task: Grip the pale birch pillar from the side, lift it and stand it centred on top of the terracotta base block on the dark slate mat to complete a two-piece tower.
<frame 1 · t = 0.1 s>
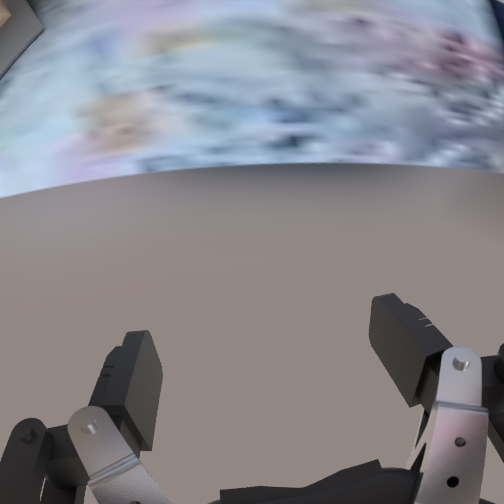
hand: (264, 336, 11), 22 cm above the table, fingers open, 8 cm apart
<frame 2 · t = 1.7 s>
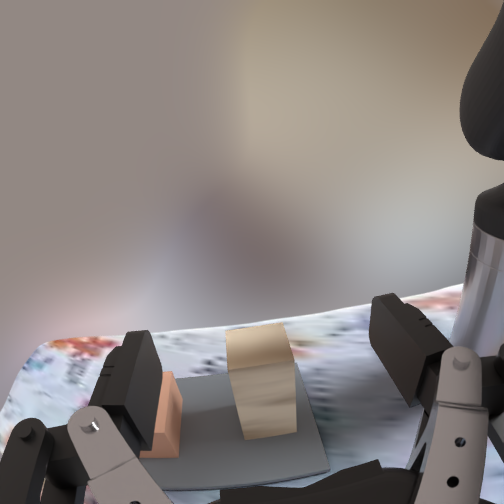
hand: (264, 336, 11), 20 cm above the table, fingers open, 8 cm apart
base block: (144, 427, 28), point 1 cm above the table, touching build mat
build mat: (200, 428, 29), on the table
pillar: (267, 417, 29), point 1 cm above the table, touching build mat
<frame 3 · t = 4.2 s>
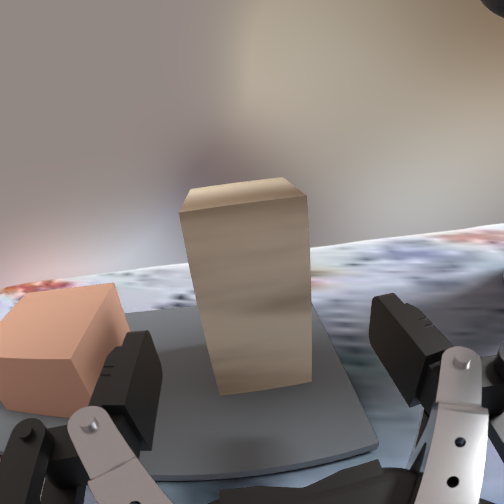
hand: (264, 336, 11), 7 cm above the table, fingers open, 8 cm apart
base block: (69, 373, 18), point 1 cm above the table, touching build mat
build mat: (151, 378, 18), on the table
pillar: (260, 360, 18), point 1 cm above the table, touching build mat
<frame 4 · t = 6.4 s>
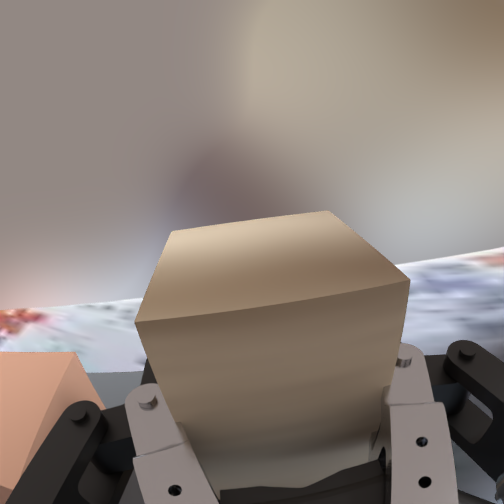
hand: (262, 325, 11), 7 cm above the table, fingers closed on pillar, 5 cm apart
base block: (33, 459, 11), point 1 cm above the table, touching build mat
build mat: (134, 478, 11), on the table
pillar: (282, 464, 11), point 1 cm above the table, touching build mat, gripper
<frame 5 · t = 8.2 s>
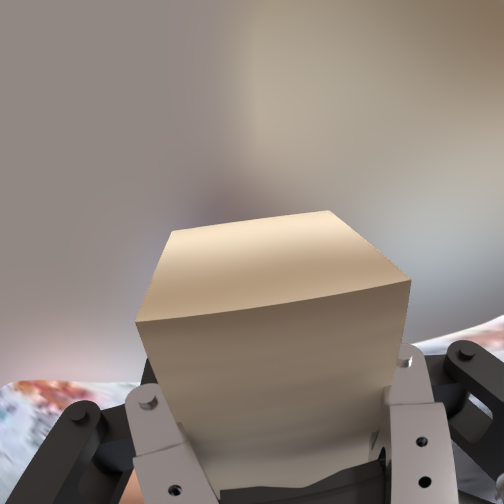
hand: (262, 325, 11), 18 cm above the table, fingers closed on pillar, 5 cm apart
pillar: (282, 464, 11), point 12 cm above the table, touching gripper
when the fingers open (12 cm above the table, at t = 10.6 s): pillar drops 1 cm, resting on base block.
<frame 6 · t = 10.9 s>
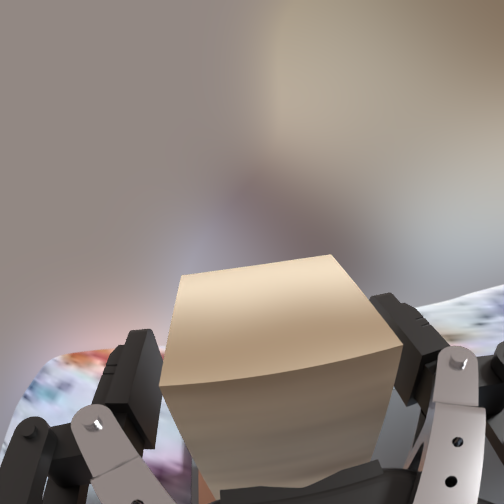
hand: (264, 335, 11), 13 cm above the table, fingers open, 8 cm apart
build mat: (380, 486, 14), on the table
pillar: (284, 479, 12), point 5 cm above the table, touching base block
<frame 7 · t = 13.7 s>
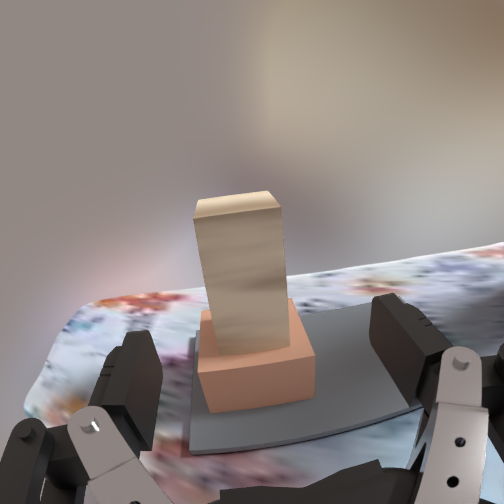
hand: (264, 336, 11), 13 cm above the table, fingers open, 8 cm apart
base block: (256, 372, 26), point 1 cm above the table, touching build mat, pillar
build mat: (324, 365, 26), on the table
pillar: (251, 331, 24), point 5 cm above the table, touching base block
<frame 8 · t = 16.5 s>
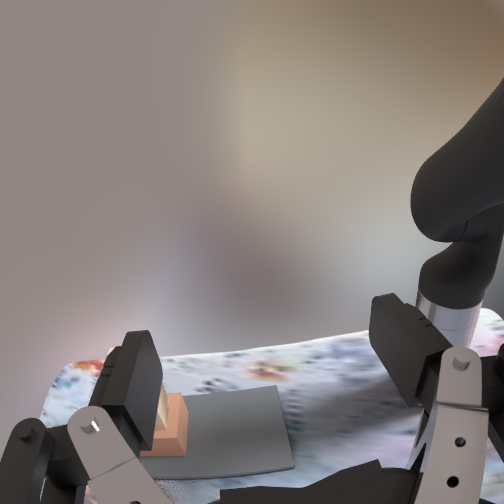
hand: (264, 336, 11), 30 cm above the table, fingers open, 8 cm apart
base block: (160, 434, 38), point 1 cm above the table, touching build mat, pillar
build mat: (202, 434, 38), on the table
pillar: (150, 415, 36), point 5 cm above the table, touching base block
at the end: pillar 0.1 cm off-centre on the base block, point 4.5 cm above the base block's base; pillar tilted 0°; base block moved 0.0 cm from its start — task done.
